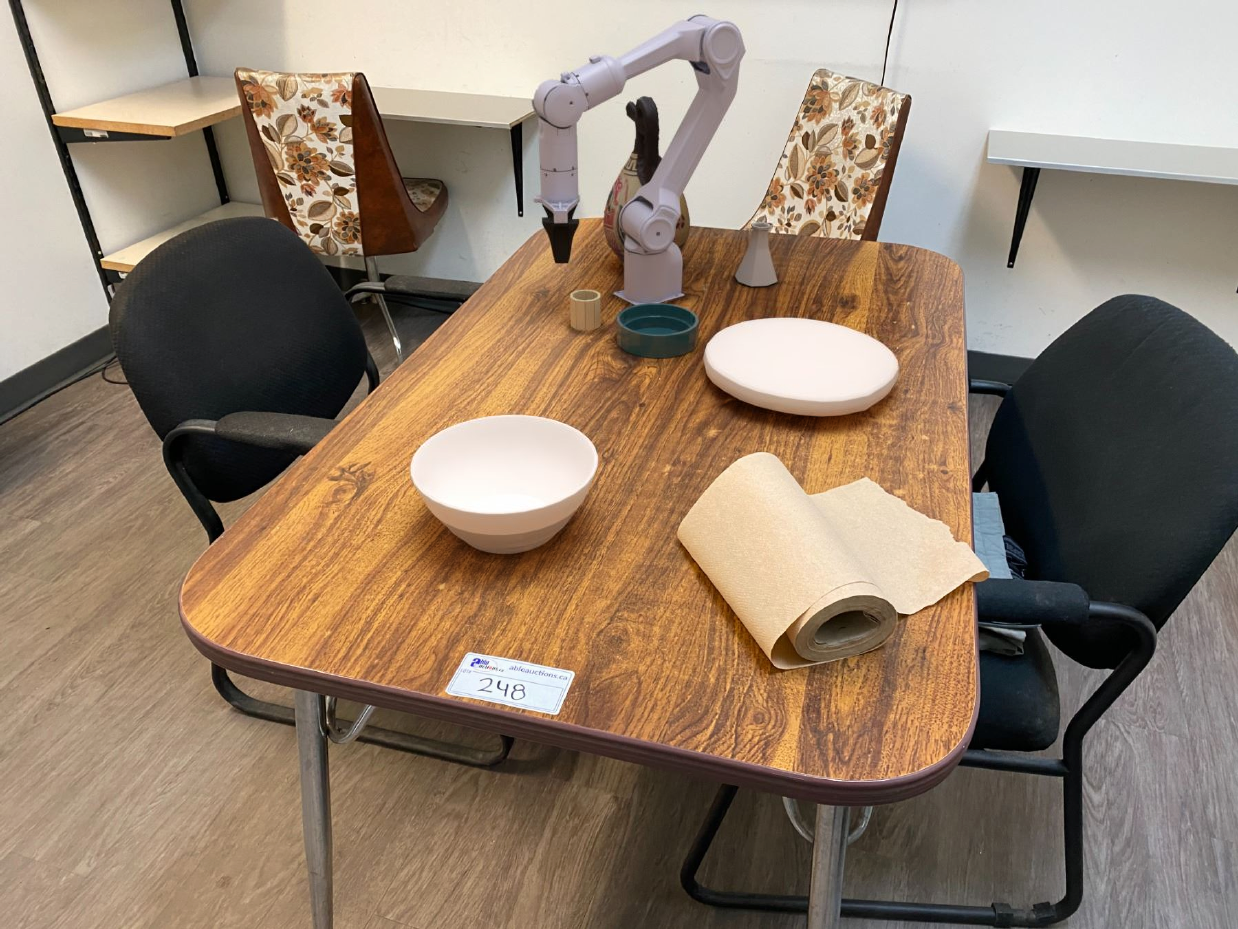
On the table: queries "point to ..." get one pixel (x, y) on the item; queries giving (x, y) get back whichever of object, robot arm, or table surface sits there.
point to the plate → (801, 366)
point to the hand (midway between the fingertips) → (561, 254)
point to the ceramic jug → (639, 176)
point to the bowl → (505, 479)
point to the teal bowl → (657, 330)
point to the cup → (585, 309)
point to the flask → (757, 259)
